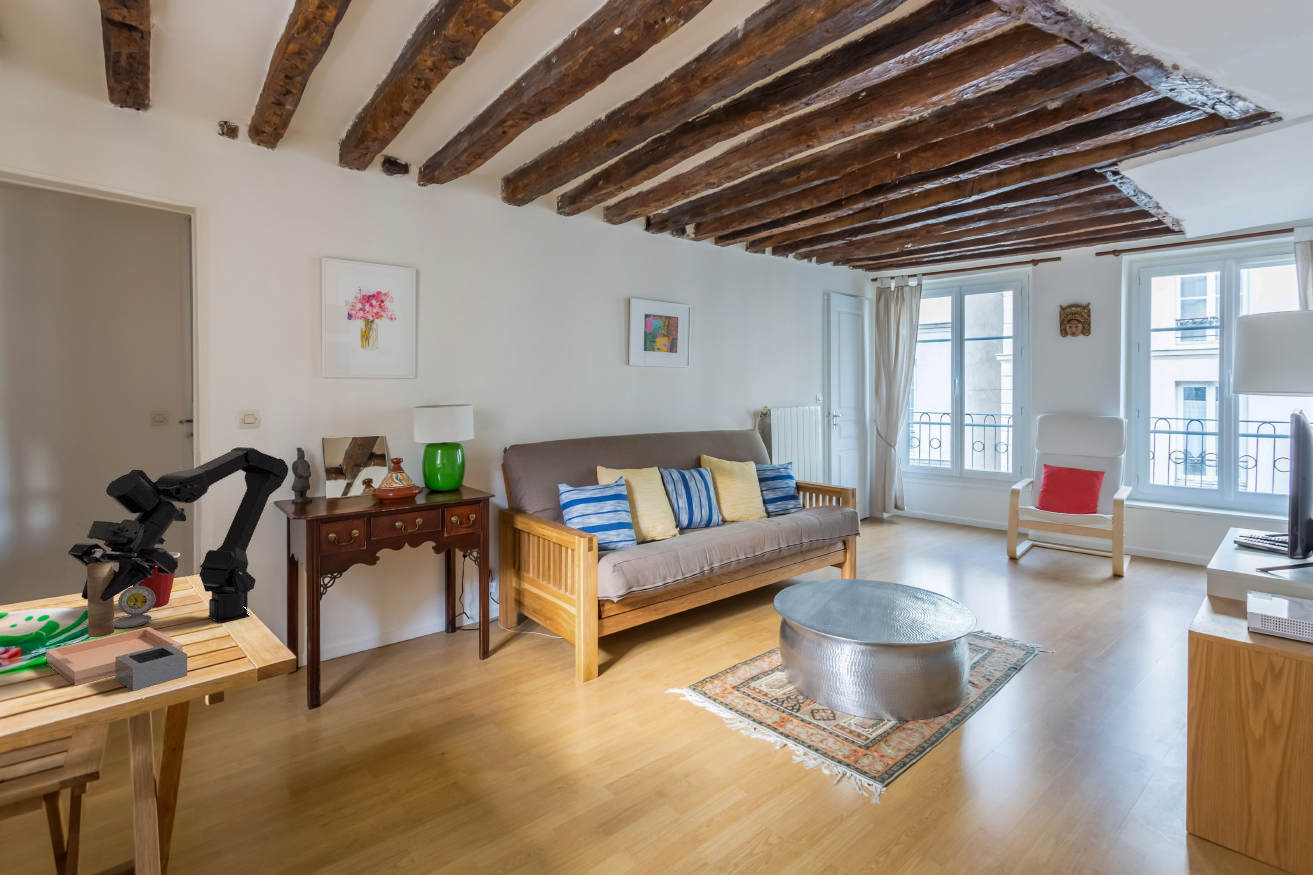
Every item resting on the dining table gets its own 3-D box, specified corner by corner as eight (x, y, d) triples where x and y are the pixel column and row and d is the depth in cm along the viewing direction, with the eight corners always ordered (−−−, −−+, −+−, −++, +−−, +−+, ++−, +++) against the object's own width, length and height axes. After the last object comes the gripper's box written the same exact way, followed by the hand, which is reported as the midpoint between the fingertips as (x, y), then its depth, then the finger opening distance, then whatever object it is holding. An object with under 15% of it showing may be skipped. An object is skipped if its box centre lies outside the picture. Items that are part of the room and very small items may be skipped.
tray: (149, 638, 133) (149, 626, 133) (182, 657, 124) (182, 644, 124) (46, 663, 120) (45, 649, 120) (75, 685, 111) (74, 671, 111)
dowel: (115, 628, 120) (113, 560, 120) (113, 634, 118) (112, 564, 117) (89, 632, 118) (88, 563, 118) (87, 638, 115) (85, 567, 115)
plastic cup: (153, 596, 160) (153, 549, 160) (191, 599, 159) (191, 552, 158) (111, 610, 150) (110, 559, 149) (151, 613, 148) (151, 562, 148)
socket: (168, 664, 121) (168, 643, 121) (187, 675, 116) (187, 653, 116) (115, 678, 114) (115, 656, 114) (133, 690, 110) (132, 668, 110)
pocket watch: (119, 631, 137) (119, 585, 136) (104, 623, 141) (103, 578, 141) (164, 621, 144) (164, 577, 143) (148, 613, 148) (148, 571, 148)
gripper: (77, 500, 122) (13, 572, 112) (164, 505, 119) (106, 580, 109) (118, 533, 130) (61, 603, 120) (200, 538, 128) (149, 610, 117)
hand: (93, 599), depth 116 cm, fingers closed on dowel, 4 cm apart
